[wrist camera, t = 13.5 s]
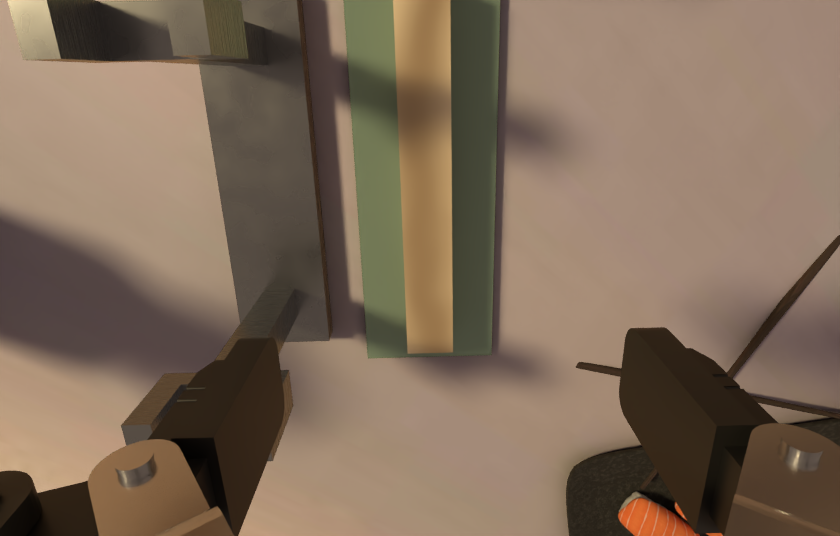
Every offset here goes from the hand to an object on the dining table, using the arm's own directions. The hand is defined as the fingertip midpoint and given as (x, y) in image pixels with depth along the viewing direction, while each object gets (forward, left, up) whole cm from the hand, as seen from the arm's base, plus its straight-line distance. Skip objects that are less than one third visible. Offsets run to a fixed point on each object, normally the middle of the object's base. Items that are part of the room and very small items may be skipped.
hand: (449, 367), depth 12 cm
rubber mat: (0, 0, -24) cm, 24 cm away
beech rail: (0, 0, -23) cm, 23 cm away
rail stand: (+10, 0, -24) cm, 26 cm away
